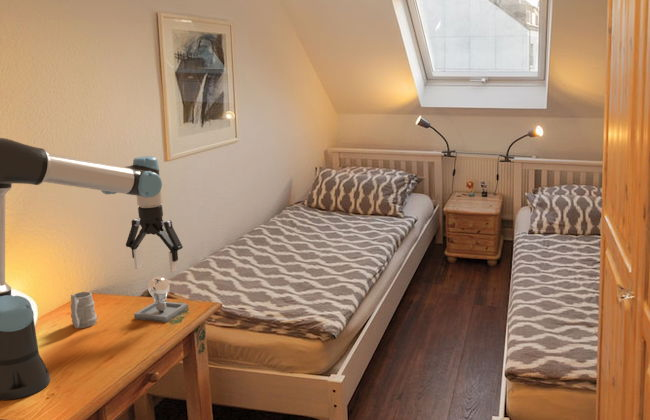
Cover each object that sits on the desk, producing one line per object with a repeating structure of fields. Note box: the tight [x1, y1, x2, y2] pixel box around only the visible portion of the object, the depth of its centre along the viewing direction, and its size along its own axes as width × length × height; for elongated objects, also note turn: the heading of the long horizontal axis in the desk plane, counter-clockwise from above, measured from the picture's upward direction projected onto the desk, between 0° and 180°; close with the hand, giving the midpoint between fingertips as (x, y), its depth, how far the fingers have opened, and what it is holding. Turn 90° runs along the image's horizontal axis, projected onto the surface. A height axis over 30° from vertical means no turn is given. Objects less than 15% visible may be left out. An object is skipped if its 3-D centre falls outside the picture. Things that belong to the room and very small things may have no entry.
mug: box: [70, 291, 98, 329], centre depth 221 cm, size 8×12×12 cm, turn 177°
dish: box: [133, 301, 189, 323], centre depth 229 cm, size 12×12×2 cm
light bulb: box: [147, 275, 171, 312], centre depth 228 cm, size 7×7×12 cm
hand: (156, 269), depth 226 cm, fingers open, 13 cm apart
